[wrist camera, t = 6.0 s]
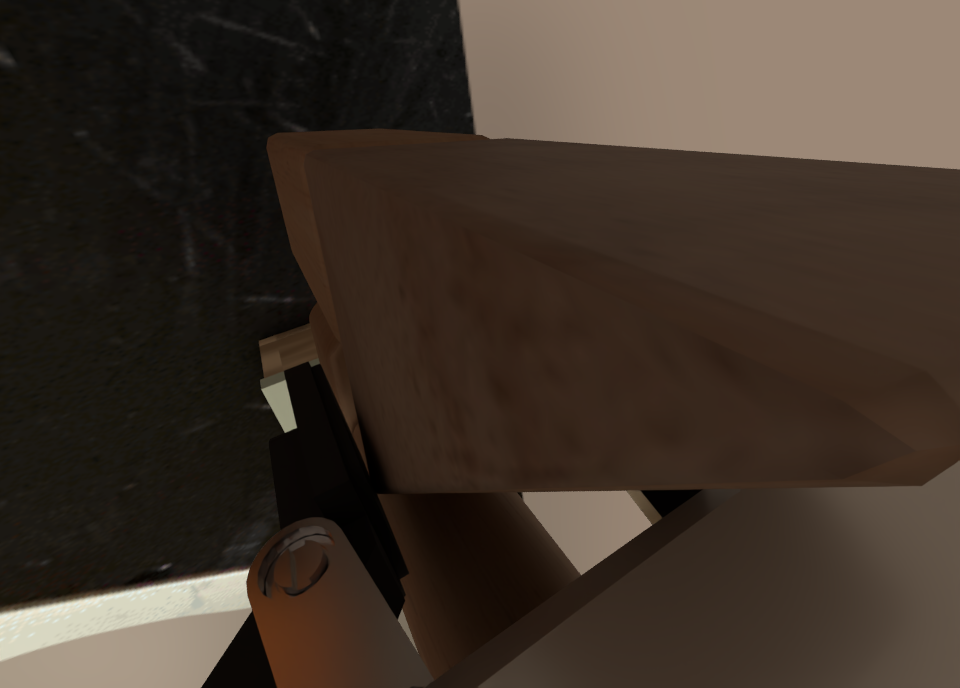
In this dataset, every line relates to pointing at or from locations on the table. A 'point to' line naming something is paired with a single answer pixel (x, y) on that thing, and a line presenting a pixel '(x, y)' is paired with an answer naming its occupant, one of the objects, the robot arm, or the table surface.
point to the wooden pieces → (612, 336)
